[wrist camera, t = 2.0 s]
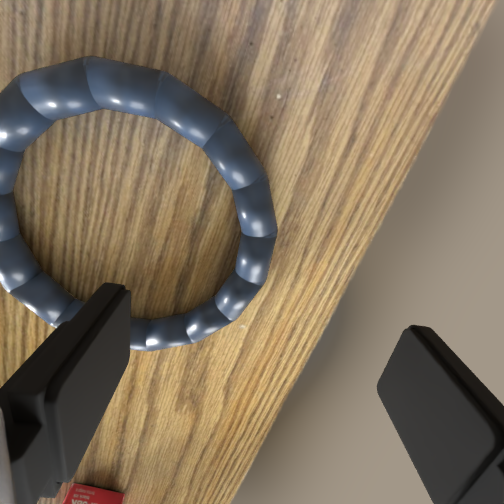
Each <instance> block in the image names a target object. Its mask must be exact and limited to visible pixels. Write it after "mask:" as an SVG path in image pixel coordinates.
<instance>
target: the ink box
mask: <svg viewBox="0 0 504 504" xmlns="http://www.w3.org/2000/svg"><path fill="white" fill-rule="evenodd" d="M124 497H125V494H124V493H119V492H113V491H110V490H105V489H100V488H96V487H91V486H86V485H81V484H76V483H73V484H72V485H71V487H70V489H69V491H68V493H67V495H66V497H65V499H64V501H63V503H62V504H122V503H123V500H124Z"/></svg>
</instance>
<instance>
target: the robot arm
mask: <svg viewBox="0 0 504 504" xmlns="http://www.w3.org/2000/svg"><path fill="white" fill-rule="evenodd" d="M130 320H131V292H130V290H126V289H125V286H124V285H122V284H115V283H107V282H105V283H103V284H102V285H101V286H100V288H99V289H98V290H97V291H96V292H95V293H94V294H93V295H92V297H91V298H90V299H89V300H88V301H87V302H86V303H85V304H84V305H83V307H82V308H81V309H80V310H79V311H78V312H77V313H76V314H75V316H74V317H73V318H72V319H71V320H70V321H65V322H62V323H61V324H60V325H59V326H58V327H57V328H56V329H55V330H54V331H53V332H52V333H51V334H50V336H49V337H48V338H47V339H46V340H45V341H44V342H43V343H42V344H41V345H40V346H39V347H38V348H37V350H36V351H35V352H34V353H33V354H32V355H31V356H30V357H29V358H28V359H27V360H26V361H25V362H24V364H23V365H22V366H21V367H20V368H19V369H18V370H17V371H16V372H15V373H14V374H13V375H12V376H11V378H10V379H9V380H8V381H7V382H6V383H5V384H4V385H3V386H2V387H1V388H0V504H37V502H38V500H39V498H40V497H44V498H55V497H56V495H57V493H58V491H59V489H60V487H61V485H62V483H63V482H66V483H69V482H70V481H71V479H72V478H73V476H74V474H75V472H76V470H77V468H78V466H79V464H80V462H81V460H82V458H83V456H84V454H85V452H86V450H87V448H88V446H89V444H90V441H91V439H92V437H93V435H94V433H95V431H96V429H97V427H98V425H99V423H100V421H101V419H102V417H103V415H104V413H105V411H106V409H107V406H108V404H109V402H110V400H111V398H112V396H113V394H114V392H115V390H116V388H117V386H118V384H119V382H120V380H121V378H122V376H123V374H124V371H125V369H126V367H127V365H128V362H129V358H130ZM377 391H378V395H379V397H380V398H381V401H382V403H383V405H384V407H385V408H386V410H387V412H388V414H389V416H390V418H391V420H392V422H393V424H394V426H395V428H396V430H397V432H398V434H399V436H400V438H401V440H402V442H403V444H404V446H405V448H406V450H407V452H408V454H409V456H410V458H411V460H412V462H413V464H414V466H415V468H416V470H417V472H418V474H419V476H420V478H421V480H422V482H423V484H424V486H425V488H426V490H427V492H428V494H429V496H430V498H431V500H432V501H433V503H434V504H504V406H503V405H502V403H501V402H500V401H499V400H498V399H497V398H496V397H495V396H494V395H493V394H492V393H491V392H490V391H489V390H488V388H487V387H486V386H485V385H484V384H483V383H482V382H481V381H480V380H479V379H478V378H477V377H476V376H475V375H474V373H473V372H472V371H471V370H470V369H469V368H468V367H467V366H466V365H465V364H464V363H463V362H462V361H461V359H460V358H459V357H458V356H457V355H456V354H455V353H454V352H453V351H452V350H451V349H450V348H449V347H448V346H447V345H446V343H445V342H444V341H443V340H442V339H441V338H440V337H439V336H438V335H437V334H436V333H435V332H434V331H433V330H432V329H431V328H429V327H425V326H417V325H411V326H409V327H408V328H407V329H405V330H404V331H403V333H402V335H401V337H400V339H399V341H398V343H397V345H396V347H395V349H394V351H393V353H392V355H391V357H390V359H389V361H388V363H387V365H386V367H385V369H384V372H383V373H382V375H381V377H380V379H379V381H378V384H377Z"/></svg>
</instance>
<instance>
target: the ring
mask: <svg viewBox="0 0 504 504" xmlns="http://www.w3.org/2000/svg"><path fill="white" fill-rule="evenodd" d="M100 109H109V110H114V111H119V112H124V113H129V114H134V115H139V116H145V117H150V118H155V119H157V120H159V121H160V122H162V123H164V124H165V125H167V126H168V127H170V128H171V129H173V130H174V131H176V132H177V133H179V134H180V135H182V136H184V137H185V138H187V139H188V140H190V141H191V142H193V143H194V144H196V145H197V146H199V147H200V148H202V149H203V151H204V152H205V153H206V155H207V156H208V157H209V159H210V160H211V162H212V163H213V164H214V166H215V167H216V169H217V170H218V171H219V173H220V174H221V175H222V177H223V178H224V180H225V181H226V182H227V184H228V185H229V186H230V188H231V189H232V193H233V197H234V202H235V206H236V210H237V214H238V218H239V222H240V226H241V230H242V232H241V238H240V243H239V249H238V255H237V260H236V266H235V268H234V270H233V271H232V273H231V274H230V275H229V277H228V278H227V280H226V281H225V283H224V284H223V285H222V287H221V288H220V290H219V291H218V293H217V294H216V295H215V296H213V297H212V298H210V299H209V300H207V301H205V302H204V303H202V304H201V305H199V306H197V307H196V308H194V309H193V310H191V311H189V312H188V313H184V314H179V315H174V316H169V317H164V318H159V319H153V320H150V319H141V318H133V317H131V320H130V349H132V350H141V351H155V350H161V349H166V348H171V347H176V346H182V345H187V344H192V343H196V342H199V341H201V340H202V339H204V338H206V337H207V336H209V335H211V334H212V333H214V332H216V331H218V330H219V329H221V328H223V327H224V326H226V325H228V324H230V323H231V322H233V321H235V320H236V319H237V318H238V317H239V316H240V315H241V313H242V312H243V311H244V310H245V308H246V307H247V306H248V304H249V303H250V302H251V300H252V299H253V298H254V296H255V295H256V294H257V292H258V291H259V290H260V289H261V287H262V286H263V285H264V283H265V281H266V279H267V275H268V271H269V267H270V263H271V258H272V254H273V250H274V246H275V241H276V237H277V232H278V229H277V222H276V217H275V212H274V206H273V201H272V196H271V190H270V185H269V180H268V175H267V172H266V170H265V169H264V167H263V166H262V164H261V162H260V161H259V159H258V158H257V156H256V155H255V153H254V152H253V150H252V149H251V147H250V146H249V144H248V142H247V141H246V139H245V138H244V136H243V135H242V133H241V132H240V130H239V129H238V127H237V126H236V124H235V123H234V121H233V119H232V118H231V117H230V116H229V115H228V114H227V113H226V112H224V111H223V110H221V109H220V108H218V107H217V106H216V105H214V104H213V103H211V102H210V101H208V100H207V99H206V98H204V97H203V96H201V95H200V94H199V93H197V92H196V91H194V90H193V89H191V88H190V87H189V86H187V85H186V84H184V83H183V82H181V81H180V80H179V79H177V78H176V77H174V76H173V75H171V74H170V73H168V72H165V71H161V70H157V69H152V68H147V67H143V66H138V65H133V64H129V63H124V62H119V61H115V60H110V59H105V58H101V57H96V56H86V57H82V58H78V59H74V60H71V61H67V62H63V63H59V64H55V65H51V66H47V67H43V68H40V69H36V70H32V71H28V72H24V73H22V74H19V75H18V76H17V77H15V78H14V79H13V80H12V81H11V82H10V83H9V84H8V86H7V87H6V88H5V89H4V90H3V91H2V92H1V93H0V282H1V284H2V285H3V287H4V288H5V290H6V291H7V292H8V293H10V294H11V295H12V296H13V297H15V298H16V299H17V300H19V301H20V302H21V303H22V304H24V305H25V306H26V307H28V308H29V309H30V310H31V311H33V312H34V313H35V314H37V315H38V316H39V317H40V318H42V319H43V320H44V321H46V322H47V323H48V324H49V325H51V326H53V327H55V328H57V327H58V326H59V325H60V324H61V323H62V322H65V321H70V320H71V319H72V318H73V317H74V316H75V314H76V313H77V312H78V311H79V310H80V309H81V308H82V307H83V305H84V304H85V302H83V301H80V300H78V299H76V298H75V297H73V296H72V295H71V294H70V293H69V292H68V291H66V290H65V289H64V288H63V287H62V286H61V285H59V284H58V283H57V282H56V281H55V280H54V279H52V278H51V277H50V276H49V275H48V274H47V273H45V272H44V271H43V270H42V268H41V267H40V265H39V263H38V262H37V260H36V258H35V257H34V255H33V253H32V252H31V250H30V248H29V247H28V245H27V244H26V242H25V240H24V239H23V237H22V235H21V234H20V230H19V224H18V218H17V212H16V206H15V200H14V194H13V188H14V184H15V181H16V178H17V175H18V171H19V168H20V165H21V161H22V158H23V155H24V152H25V149H26V148H27V147H29V146H30V145H31V144H32V143H33V142H34V141H35V140H36V139H37V138H38V137H39V136H40V135H41V134H43V133H44V132H45V131H46V130H47V129H48V128H49V127H50V126H51V125H52V124H53V123H54V122H55V121H57V120H59V119H64V118H68V117H72V116H76V115H80V114H84V113H88V112H92V111H96V110H100Z"/></svg>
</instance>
